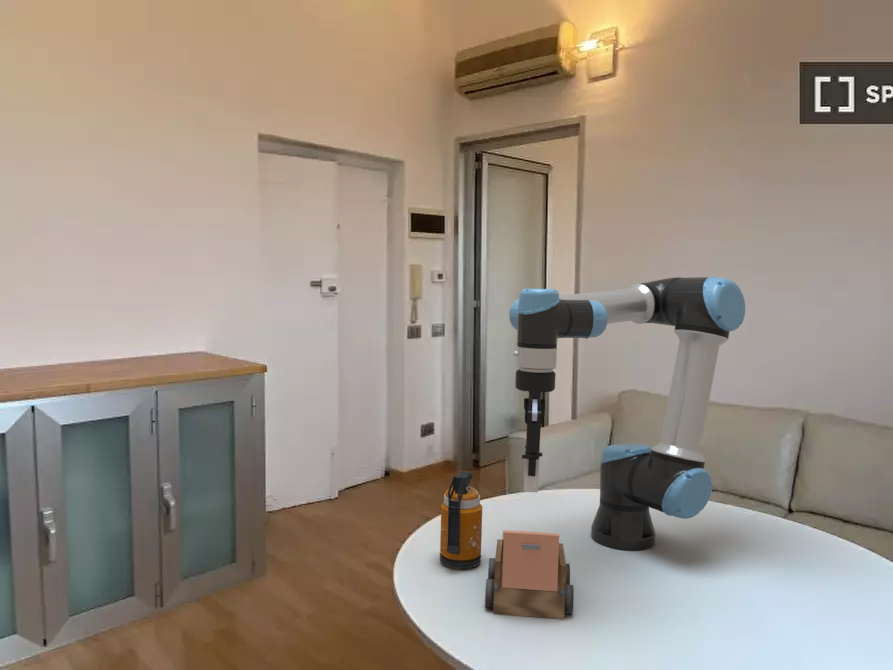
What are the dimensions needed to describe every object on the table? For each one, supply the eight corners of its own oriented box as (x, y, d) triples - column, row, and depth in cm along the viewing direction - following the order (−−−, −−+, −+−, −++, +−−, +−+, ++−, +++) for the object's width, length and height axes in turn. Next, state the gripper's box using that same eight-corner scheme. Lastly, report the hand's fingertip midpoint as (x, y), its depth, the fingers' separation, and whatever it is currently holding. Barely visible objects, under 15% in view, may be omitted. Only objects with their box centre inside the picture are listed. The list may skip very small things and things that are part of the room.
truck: (567, 582, 139) (569, 534, 139) (573, 621, 123) (575, 568, 122) (489, 576, 141) (490, 529, 140) (484, 614, 125) (486, 561, 124)
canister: (485, 558, 151) (488, 470, 149) (471, 577, 140) (473, 483, 139) (447, 552, 154) (449, 465, 152) (430, 571, 143) (432, 478, 142)
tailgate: (556, 588, 124) (558, 533, 123) (557, 592, 122) (559, 536, 122) (502, 584, 125) (504, 529, 124) (502, 588, 124) (503, 533, 123)
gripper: (516, 364, 135) (511, 480, 137) (515, 372, 122) (510, 500, 124) (554, 366, 134) (549, 482, 136) (557, 374, 122) (551, 502, 123)
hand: (530, 490), depth 130 cm, fingers closed
